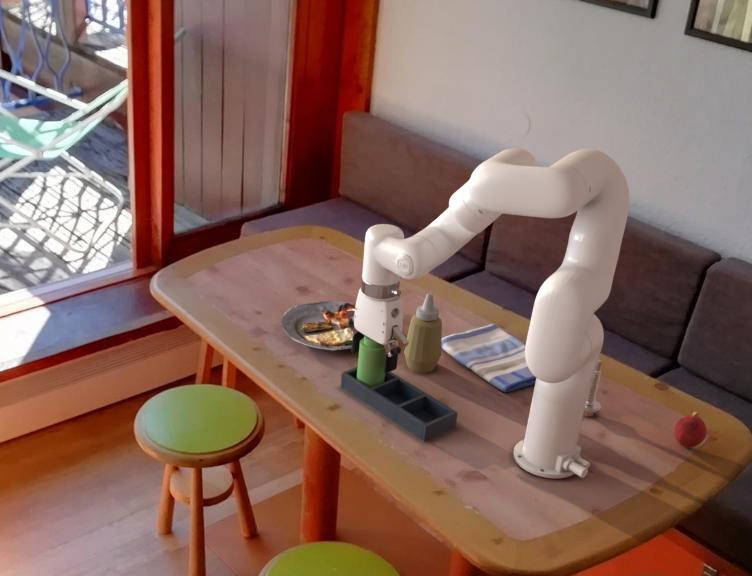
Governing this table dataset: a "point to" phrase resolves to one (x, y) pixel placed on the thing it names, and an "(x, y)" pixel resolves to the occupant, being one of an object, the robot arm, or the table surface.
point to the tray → (403, 404)
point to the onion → (690, 430)
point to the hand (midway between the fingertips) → (373, 360)
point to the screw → (593, 392)
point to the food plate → (319, 325)
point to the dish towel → (491, 356)
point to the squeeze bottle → (424, 338)
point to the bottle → (371, 362)
